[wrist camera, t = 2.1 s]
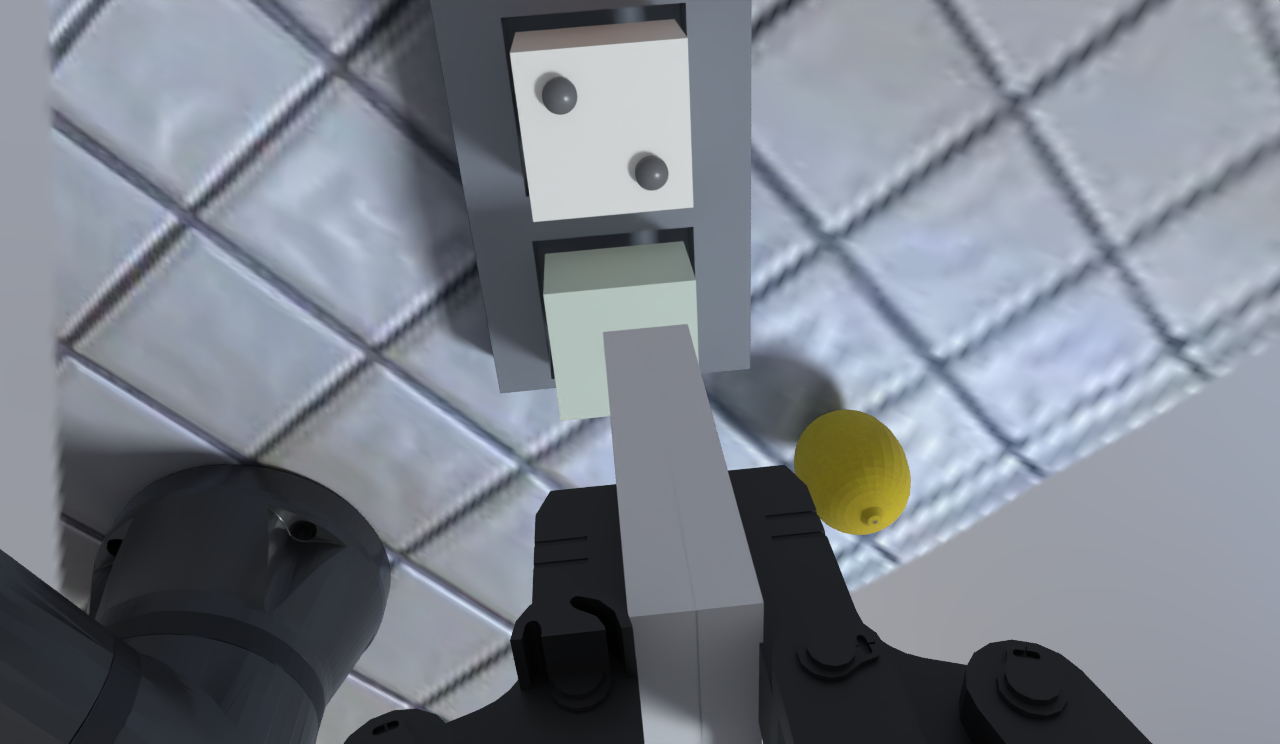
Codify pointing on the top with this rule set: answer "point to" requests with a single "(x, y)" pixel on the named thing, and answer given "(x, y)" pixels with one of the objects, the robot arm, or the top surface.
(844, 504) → the lemon
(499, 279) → the console
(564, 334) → the tile one
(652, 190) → the tile two
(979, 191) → the top surface
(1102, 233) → the top surface
